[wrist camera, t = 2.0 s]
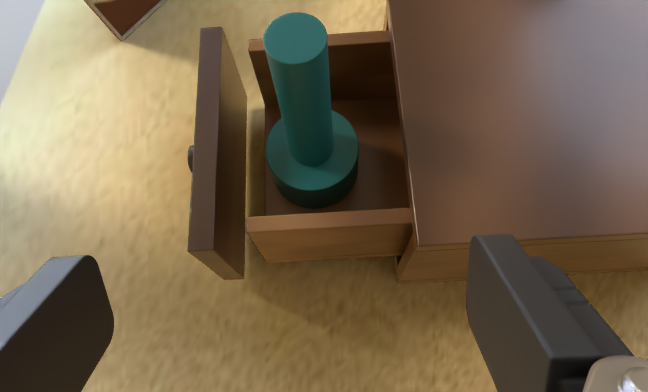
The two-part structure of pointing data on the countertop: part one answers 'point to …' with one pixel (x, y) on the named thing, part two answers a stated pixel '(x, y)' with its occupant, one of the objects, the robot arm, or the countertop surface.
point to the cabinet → (523, 130)
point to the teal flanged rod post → (307, 117)
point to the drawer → (230, 171)
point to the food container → (123, 14)
